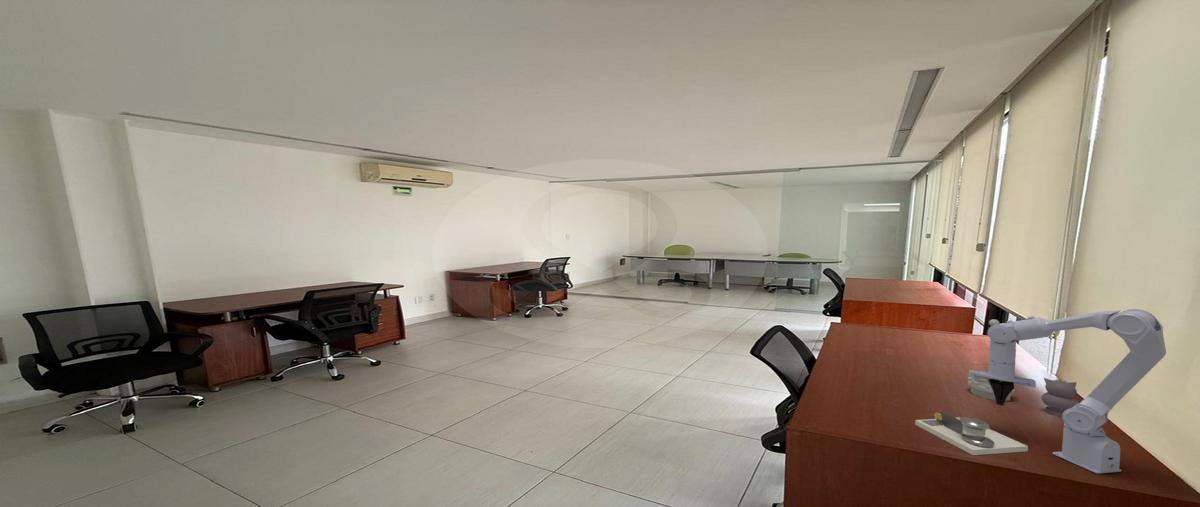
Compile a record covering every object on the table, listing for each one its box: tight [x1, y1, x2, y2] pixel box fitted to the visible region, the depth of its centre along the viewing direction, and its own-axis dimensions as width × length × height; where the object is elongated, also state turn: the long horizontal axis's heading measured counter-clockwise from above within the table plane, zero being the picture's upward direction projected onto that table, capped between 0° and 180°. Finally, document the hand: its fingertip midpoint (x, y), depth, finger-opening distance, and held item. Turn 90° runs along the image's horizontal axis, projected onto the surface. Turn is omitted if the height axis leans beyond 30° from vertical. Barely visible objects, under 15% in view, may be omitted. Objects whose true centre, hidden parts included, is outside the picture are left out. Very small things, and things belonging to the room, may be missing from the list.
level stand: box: [914, 417, 1029, 456], centre depth 121 cm, size 18×18×2 cm
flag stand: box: [967, 318, 1016, 402], centre depth 152 cm, size 13×13×30 cm
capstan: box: [934, 410, 994, 447], centre depth 120 cm, size 17×7×5 cm, turn 5°
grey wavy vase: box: [1040, 377, 1079, 419], centre depth 136 cm, size 8×8×12 cm
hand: (999, 404), depth 123 cm, fingers closed
